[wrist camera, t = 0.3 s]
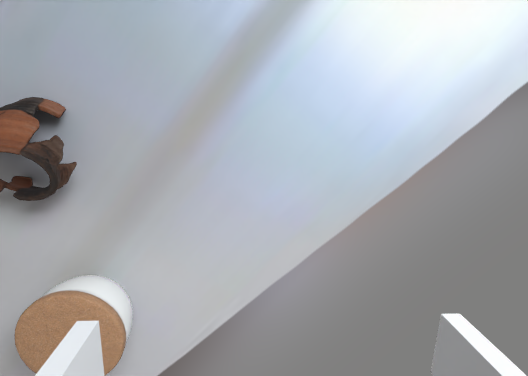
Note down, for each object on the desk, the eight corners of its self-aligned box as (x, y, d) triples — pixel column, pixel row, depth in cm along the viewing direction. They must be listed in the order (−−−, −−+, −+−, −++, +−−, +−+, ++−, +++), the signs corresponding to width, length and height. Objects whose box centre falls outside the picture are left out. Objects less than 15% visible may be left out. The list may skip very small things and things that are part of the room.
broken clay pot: (97, 109, 36) (72, 156, 30) (83, 168, 41) (60, 218, 35) (-38, 61, 31) (-98, 105, 25) (-34, 135, 37) (-82, 186, 31)
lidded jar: (116, 349, 43) (83, 415, 33) (39, 309, 40) (-19, 368, 31) (160, 288, 41) (138, 339, 32) (83, 244, 39) (35, 285, 30)
